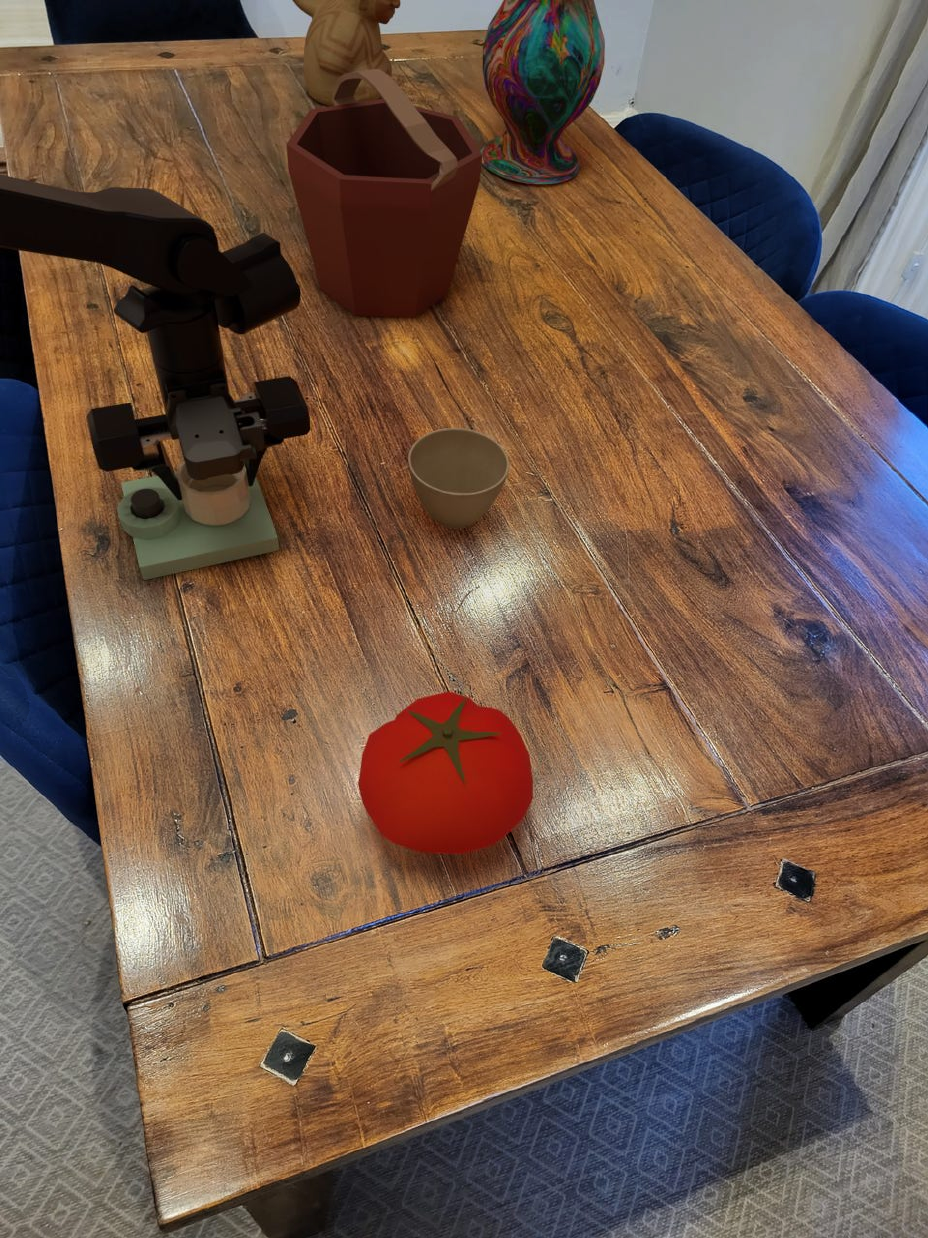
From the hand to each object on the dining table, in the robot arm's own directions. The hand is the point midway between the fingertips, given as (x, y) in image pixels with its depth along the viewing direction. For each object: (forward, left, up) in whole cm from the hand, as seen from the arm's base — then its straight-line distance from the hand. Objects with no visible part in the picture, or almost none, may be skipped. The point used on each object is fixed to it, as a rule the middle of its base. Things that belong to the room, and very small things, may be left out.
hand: (214, 490), depth 85 cm
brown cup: (+23, -6, -4) cm, 24 cm away
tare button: (-6, 0, -1) cm, 6 cm away
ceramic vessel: (+42, +97, -4) cm, 106 cm away
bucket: (+29, +37, -4) cm, 47 cm away
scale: (-2, 0, -4) cm, 4 cm away
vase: (+64, +66, -4) cm, 92 cm away
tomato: (+10, -37, -4) cm, 39 cm away
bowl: (0, 0, -2) cm, 2 cm away
